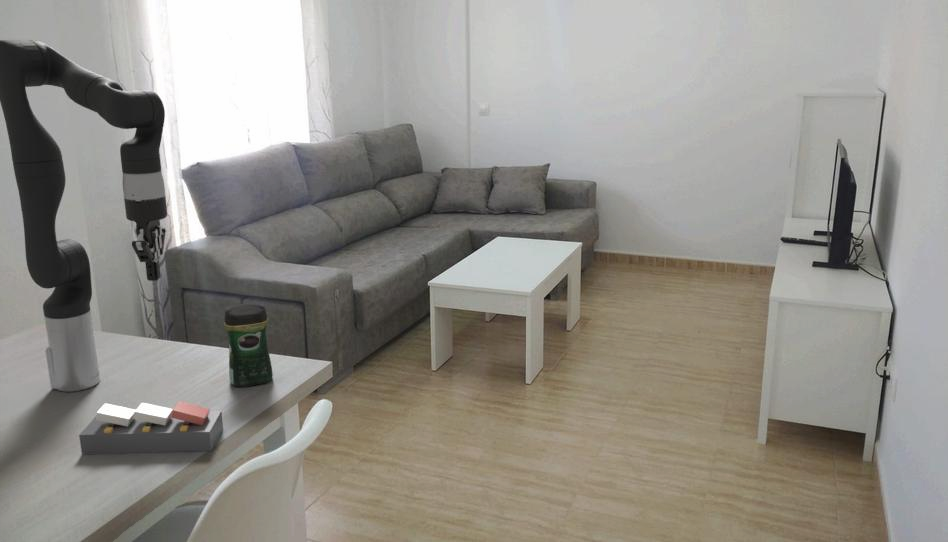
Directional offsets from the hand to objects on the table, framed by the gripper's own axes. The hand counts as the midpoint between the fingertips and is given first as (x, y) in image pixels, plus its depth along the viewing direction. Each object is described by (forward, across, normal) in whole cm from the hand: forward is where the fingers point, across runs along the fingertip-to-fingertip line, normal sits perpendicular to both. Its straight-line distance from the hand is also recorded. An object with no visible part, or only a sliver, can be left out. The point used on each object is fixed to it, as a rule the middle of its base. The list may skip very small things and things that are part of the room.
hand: (154, 279), depth 157 cm
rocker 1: (+24, +14, -5) cm, 28 cm away
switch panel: (+29, +14, +2) cm, 32 cm away
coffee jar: (+29, -15, +14) cm, 36 cm away
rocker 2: (+24, +14, +2) cm, 28 cm away
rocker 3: (+24, +14, +9) cm, 29 cm away
